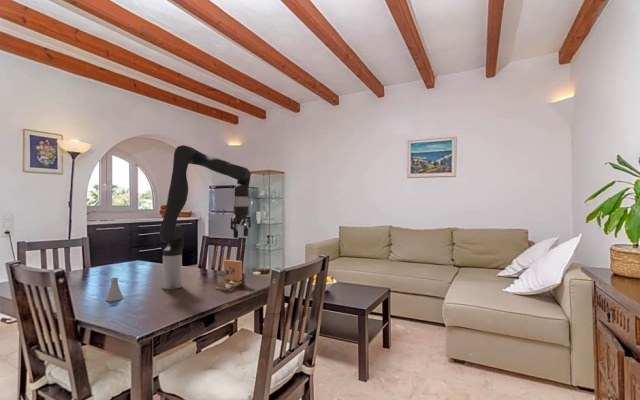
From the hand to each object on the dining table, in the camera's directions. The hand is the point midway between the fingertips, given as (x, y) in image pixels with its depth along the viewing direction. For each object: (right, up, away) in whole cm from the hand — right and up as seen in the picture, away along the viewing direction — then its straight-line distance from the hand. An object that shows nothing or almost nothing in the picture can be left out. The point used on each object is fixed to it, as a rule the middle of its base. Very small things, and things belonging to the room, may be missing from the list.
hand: (240, 236), depth 170 cm
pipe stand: (-8, -27, +6) cm, 29 cm away
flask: (-55, -28, -17) cm, 64 cm away
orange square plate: (-7, -24, +10) cm, 27 cm away
